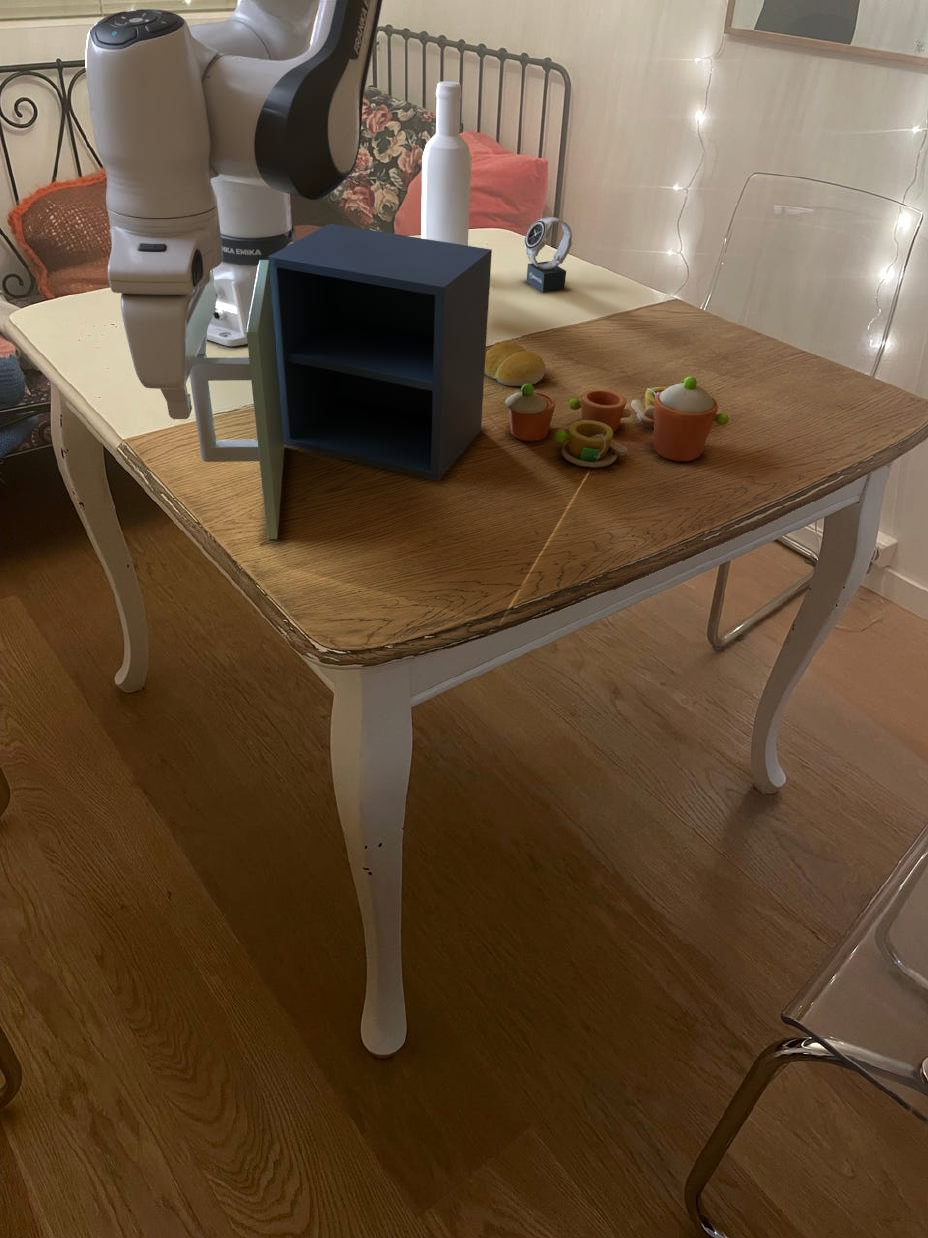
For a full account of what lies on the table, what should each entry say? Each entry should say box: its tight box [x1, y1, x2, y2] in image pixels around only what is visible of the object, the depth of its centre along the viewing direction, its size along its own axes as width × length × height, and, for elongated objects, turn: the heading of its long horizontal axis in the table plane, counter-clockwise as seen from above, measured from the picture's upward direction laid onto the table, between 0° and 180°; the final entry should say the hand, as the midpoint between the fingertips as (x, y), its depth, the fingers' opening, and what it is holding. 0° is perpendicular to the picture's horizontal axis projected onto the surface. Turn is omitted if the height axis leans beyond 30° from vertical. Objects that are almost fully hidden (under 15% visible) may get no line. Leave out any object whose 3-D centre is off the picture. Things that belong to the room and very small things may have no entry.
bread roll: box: [484, 341, 546, 387], centre depth 130 cm, size 8×9×4 cm
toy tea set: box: [504, 376, 730, 468], centre depth 113 cm, size 26×16×10 cm, turn 104°
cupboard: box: [268, 223, 493, 481], centre depth 108 cm, size 14×20×22 cm
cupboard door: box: [189, 260, 286, 540], centre depth 97 cm, size 7×20×22 cm, turn 7°
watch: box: [524, 216, 573, 293], centre depth 158 cm, size 6×8×11 cm
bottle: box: [420, 80, 473, 246], centre depth 151 cm, size 8×8×30 cm
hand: (189, 393), depth 88 cm, fingers open, 8 cm apart
